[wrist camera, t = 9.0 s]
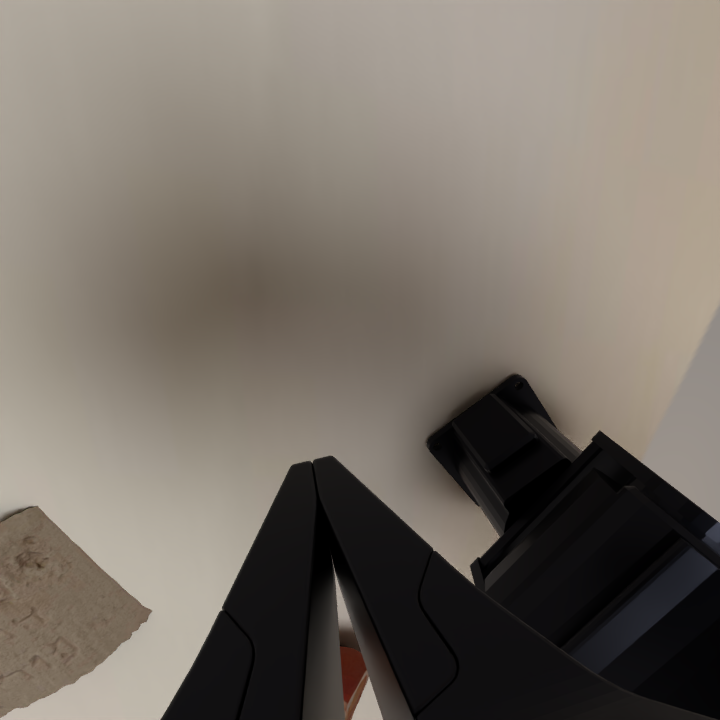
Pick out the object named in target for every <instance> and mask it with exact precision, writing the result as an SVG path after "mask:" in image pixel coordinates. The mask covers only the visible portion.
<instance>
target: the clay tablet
mask: <svg viewBox="0 0 720 720" xmlns="http://www.w3.org/2000/svg"><path fill="white" fill-rule="evenodd" d="M151 612H152V610H150V609H148V608H146V607H144V606H142V605H141V603H140V602H139V601H138V600H136V599H135V598H134V597H133V596H131V595H130V594H129V593H128V592H127V591H126V590H124V589H123V588H122V587H121V586H120V585H119V584H118V583H117V582H116V581H115V580H114V579H113V578H111V577H110V576H109V575H108V574H107V573H106V572H104V571H103V570H102V569H101V568H100V567H99V566H98V565H97V564H96V563H95V562H94V561H93V560H92V559H91V558H90V557H89V556H88V555H87V554H86V553H85V552H84V551H83V550H82V549H81V548H80V547H79V546H78V545H77V544H75V543H74V542H73V541H72V540H71V539H70V538H69V537H68V536H67V535H66V534H65V533H64V532H63V531H62V530H61V529H60V528H59V527H58V526H57V525H56V524H55V523H53V522H52V521H51V520H50V519H49V518H48V517H47V516H46V515H45V513H44V512H43V511H42V510H41V509H40V508H39V507H38V506H37V507H33V508H28V509H26V510H25V511H23V512H21V513H20V514H18V513H17V514H15V515H13V516H11V517H10V518H8V519H6V520H5V521H3V522H1V523H0V718H1V717H2V716H4V715H6V714H7V713H8V712H10V711H12V710H13V709H15V708H24V707H28V706H29V705H30V704H31V703H33V702H35V701H37V700H38V699H41V698H45V697H46V696H49V695H51V694H52V693H55V692H56V691H58V690H59V689H60V688H62V687H63V686H66V685H69V684H73V683H75V682H76V681H77V680H78V679H79V678H80V677H81V676H83V675H85V674H88V673H90V672H91V671H93V670H94V669H95V667H96V666H98V665H99V664H101V663H102V662H103V661H104V660H105V659H106V658H107V657H108V656H109V655H111V654H112V653H113V652H114V651H115V650H116V649H117V647H118V646H119V645H120V644H121V643H122V642H125V641H126V640H128V639H130V637H131V635H132V632H134V631H136V630H138V629H139V627H140V624H142V623H144V622H146V621H147V619H148V616H149V614H150V613H151Z"/></svg>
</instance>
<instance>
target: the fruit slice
mask: <svg viewBox="0 0 720 720" xmlns="http://www.w3.org/2000/svg"><path fill="white" fill-rule="evenodd" d="M340 656H341V670H342V684H343V699H344V713H345V720H351V719H352V716H353V713H354V711H355V708H356V706H357V704H358V702H359V699H360V697H361V694H362V692H363V690H364V688H365V685H366V683H367V680H368V677H369V674H368V671H367V668H366V665H365V662H364V659H363V656H362V653H361V652H359V651H357V650H355V649H353V648H349V647H343V646H340Z"/></svg>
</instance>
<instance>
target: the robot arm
mask: <svg viewBox="0 0 720 720" xmlns="http://www.w3.org/2000/svg"><path fill="white" fill-rule="evenodd" d="M518 382H519V384H518V385H517V386H516V387H515V385H516V383H518ZM591 440H592V442H591V443H590V445H589V446H588V447H587V448H586V449H585V450H584V451H583V452H582V451H581V450H580V449H579V448H578V447H577V446H575V445H574V444H573V443H572V442H571V441H570V440H569V439H567V438H566V437H565V436H564V435H563V434H562V433H561V432H559V431H558V430H557V428H556V426H555V425H554V423H553V422H552V420H551V418H550V417H549V415H548V414H547V412H546V410H545V409H544V407H543V406H542V404H541V402H540V401H539V399H538V398H537V396H536V394H535V393H534V391H533V390H532V388H531V387H530V385H529V383H528V382H527V380H526V379H525V378H523V377H522V376H521V375H513V376H512V377H510V378H509V379H507V380H506V381H505V382H503V383H502V384H501V385H499V386H498V387H497V388H495V389H494V390H493V391H491V392H490V393H489V394H487V395H486V396H485V397H483V398H482V399H481V400H479V401H478V402H477V403H475V404H474V405H473V406H471V407H470V408H469V409H467V410H466V411H465V412H463V413H462V414H461V415H459V416H458V417H457V418H455V419H454V420H453V421H451V422H450V423H449V424H447V425H446V426H445V427H443V428H442V429H441V430H439V431H438V432H437V433H435V434H434V435H433V436H431V437H430V438H429V439H428V441H427V447H428V449H429V450H430V452H431V453H432V454H433V456H434V457H435V458H436V459H437V460H438V461H439V462H440V464H441V465H442V466H443V467H444V468H445V469H446V470H447V472H448V473H449V474H450V475H451V476H452V477H453V478H454V480H455V481H456V482H457V483H458V484H459V485H460V486H461V488H462V489H463V490H464V491H465V492H466V493H467V494H468V496H469V497H470V498H471V499H472V500H473V501H474V502H475V504H476V505H478V506H480V507H481V509H482V510H483V512H484V513H485V515H486V516H487V518H488V519H489V521H490V522H491V524H492V526H493V527H494V529H495V530H496V532H497V533H498V535H499V536H500V538H499V539H498V540H497V541H496V542H495V543H494V544H493V545H492V546H491V547H490V548H489V549H488V550H487V551H486V553H485V554H484V555H483V556H482V557H481V558H479V557H478V558H477V559H476V560H475V561H474V562H473V563H472V564H471V565H470V568H471V572H472V576H473V579H474V583H475V585H474V584H472V583H471V582H470V581H469V580H468V579H467V578H465V577H464V576H463V575H462V574H461V573H460V572H459V571H457V570H456V569H455V568H454V567H453V566H452V565H450V564H449V563H448V562H447V561H446V560H445V559H444V558H443V557H442V556H441V555H440V554H439V553H438V552H436V551H433V548H432V547H431V546H430V545H429V544H428V543H426V542H425V541H424V540H423V539H422V538H421V537H420V536H419V535H418V534H417V533H416V532H415V531H413V530H412V529H411V528H410V527H409V526H408V525H407V524H406V523H405V522H404V521H403V520H402V519H401V518H399V517H398V516H397V515H396V514H395V513H394V512H393V511H392V510H391V509H390V508H389V507H388V506H386V505H385V504H384V503H383V502H382V501H381V500H380V499H379V498H378V497H377V496H376V495H375V494H373V493H372V492H371V491H370V490H369V489H368V488H367V487H366V486H365V485H364V484H363V483H362V482H360V481H359V480H358V479H357V478H356V477H355V476H354V475H353V474H352V473H351V472H350V471H349V470H348V469H346V468H345V467H344V466H343V465H342V464H341V463H340V462H339V461H338V460H337V459H336V458H334V457H333V456H326V457H322V458H318V459H315V460H314V461H313V464H312V462H311V461H306V462H302V463H297V464H294V465H292V466H291V467H290V469H289V471H288V473H287V475H286V477H285V479H284V481H283V483H282V485H281V487H280V489H279V491H278V493H277V495H276V498H275V500H274V502H273V504H272V506H271V508H270V510H269V512H268V514H267V516H266V518H265V520H264V522H263V524H262V526H261V528H260V530H259V532H258V534H257V537H256V539H255V541H254V543H253V545H252V547H251V549H250V551H249V553H248V555H247V557H246V559H245V561H244V563H243V565H242V567H241V569H240V571H239V573H238V575H237V578H236V580H235V582H234V584H233V586H232V588H231V590H230V592H229V594H228V596H227V598H226V600H225V602H224V604H223V606H222V611H220V612H219V614H218V616H217V618H216V620H215V622H214V624H213V626H212V628H211V631H210V633H209V635H208V636H207V638H206V640H205V642H204V644H203V646H202V648H201V650H200V652H199V654H198V656H197V658H196V660H195V661H194V663H193V665H192V667H191V669H190V671H189V672H188V674H187V676H186V678H185V679H184V681H183V683H182V684H181V686H180V688H179V689H178V691H177V693H176V695H175V696H174V698H173V700H172V701H171V703H170V705H169V707H168V708H167V710H166V712H165V713H164V715H163V717H162V718H161V720H345V713H344V699H343V684H342V670H341V656H340V641H339V627H338V612H337V598H336V584H335V574H334V569H335V573H336V576H337V580H338V583H339V586H340V589H341V592H342V595H343V598H344V601H345V605H346V608H347V611H348V614H349V617H350V620H351V623H352V626H353V629H354V632H355V635H356V638H357V641H358V644H359V647H360V650H361V653H362V656H363V659H364V662H365V665H366V668H367V671H368V674H369V677H370V680H371V683H372V686H373V690H374V693H375V696H376V699H377V702H378V705H379V708H380V711H381V714H382V717H383V720H720V523H719V522H718V521H717V520H715V519H714V518H713V517H711V516H710V515H709V514H707V513H706V512H705V511H704V510H702V509H701V508H700V507H699V506H697V505H696V504H695V503H693V502H692V501H691V500H689V499H688V498H687V497H685V496H684V495H683V494H682V493H680V492H679V491H678V490H676V489H675V488H674V487H672V486H671V485H670V484H669V483H667V482H666V481H665V480H663V479H662V478H661V477H660V476H658V475H657V474H656V473H654V472H653V471H652V470H650V469H649V468H648V467H647V466H645V465H644V464H643V463H641V462H640V461H639V460H637V459H636V458H635V457H634V456H632V455H631V454H630V453H628V452H627V451H626V450H624V449H623V448H622V447H621V446H619V445H618V444H617V443H615V442H614V441H613V440H611V439H610V438H609V437H608V436H606V435H605V434H604V433H602V432H601V431H599V432H598V433H597V434H596V435H595V436H594V437H593V438H592V439H591ZM436 443H439V444H438V445H437V446H434V445H435V444H436ZM331 555H332V556H331ZM332 560H333V561H332ZM333 564H334V567H333Z"/></svg>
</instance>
